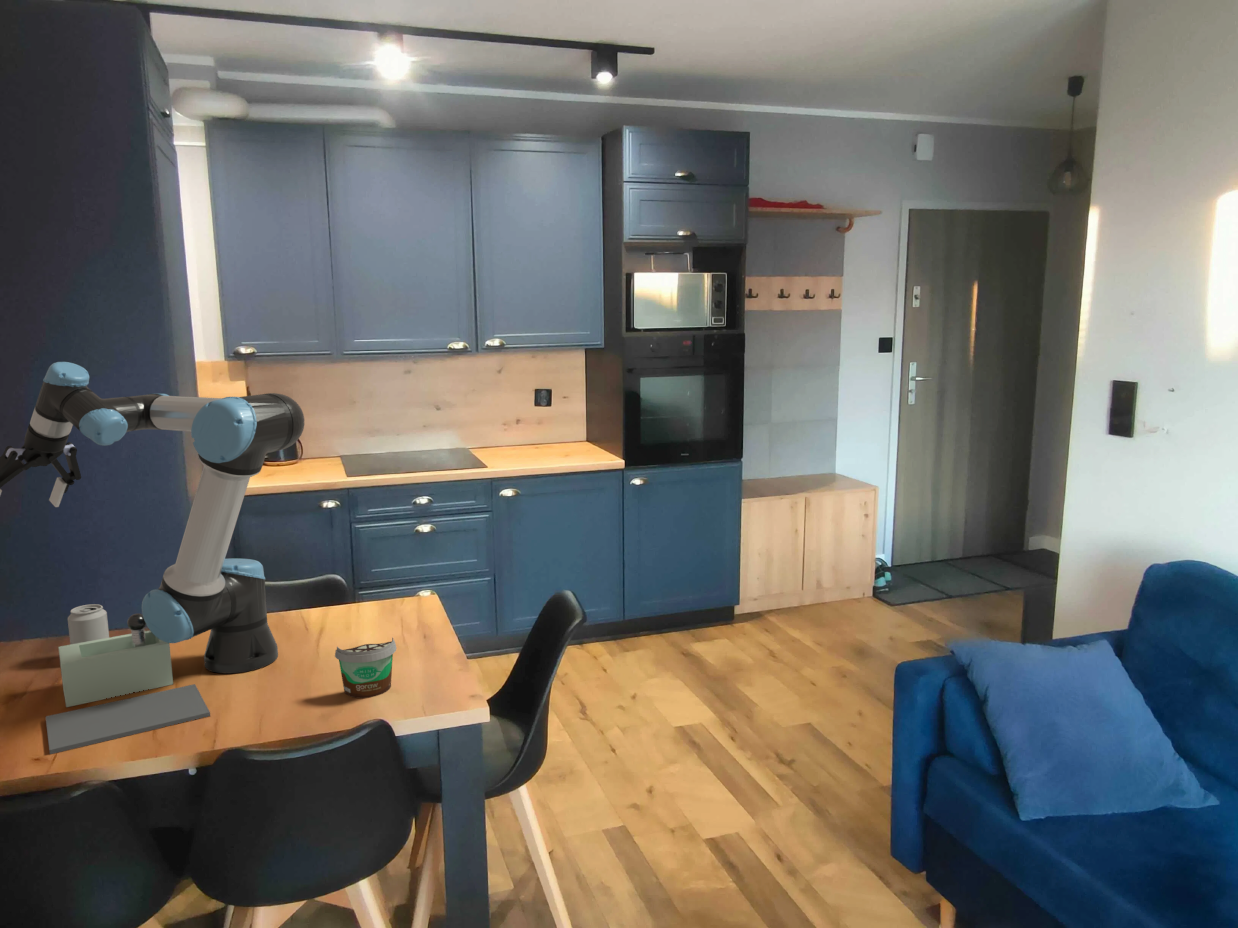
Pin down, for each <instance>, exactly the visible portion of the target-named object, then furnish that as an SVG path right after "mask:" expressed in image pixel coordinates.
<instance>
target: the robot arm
mask: <svg viewBox="0 0 1238 928" xmlns="http://www.w3.org/2000/svg"><path fill="white" fill-rule="evenodd" d="M42 381H43V382H42V385H41V388H40V390H39V394H38V397H37V400H36V402H35V405H34V409H33V412H32V415H31V418H30V421H29V424H28V426H27V429H26V432H25V436H24V442H23V445H22V446H21V447H20V448H13V446H11V445H7V446H6V447H5V449H4V451H3V453H2V454H1V456H0V496H1V495H2V492H3V490H2V489H1V488H2V487H3V486H5V485H6V484H7V483H9V482H10V481H12V480H13V479H14V478H15V477H17V476H18V475H19V474H21V473H22V472H24V471H28V470H30V468H37V467H47V466H49V465H52V466H53V468H55V470H56V471H57V472H58V474H59V475H60V476H58V477H56V479H55V482H54V484H53V488H52V491H51V493H50V497H49V499H48V501H49V502H50V504H52V505H53V507H55V508H59V507H60V504H61V502H62V499H63V497H64V496H63V495H64V494H66V493H67V492H68V489H69V487H70V486H73V485H74V484H75V480H77V481H80V480H81V478H82V475H81V469H80V467H79V463H78V460H77V459H78V458H77V452H78V449H77V448H76V446H74V444H73V443H72V442H70V441H68V439H69V437H70V433H71V432H72V428H73V426H74V427H75V428H76V429H77V430H78V431H80V433H81V434H82V435H83V436H85V437H87V439H90V440H91V441H92V442H94V443H95V444H97V445H99V446H111V445H113V444H114V443H115V442H119V441H120V440H121V439H122V438H123V437H124V436H125V435H126V433H128V432H134V431H141V430H163V431H164V430H165V431H166V430H167V431H177V432H190V434H191V439H194V441H193V442H192V444H193V447H194V449H195V451H196V453H197V458H198V460H199V462H200V463H201V464H202V466H203V468H202V471H201V475H200V478H199V481H198V485H197V489H196V491H195V494H194V498H193V501H192V505H191V509H190V513H189V515H188V519H187V522H186V526H185V529H184V533H183V536H182V539H181V543H180V547H179V549H178V553H177V556H176V561H175V563H174V564H172V565H170V566H168V567H167V568H166V569H165V570H164V572H163V575H162V579H161V581H160V582H161V583H160V586H159V587H158V588H156V589H154V588H153V589H152V590H150V591H149V592H148V593H146V594H145V596H144V597H143V598H142V602H141V614H142V615H143V618H144V621H145V622H146V627H147V628H148V629H149V630H150V631H151V632H152V633H153V634H154V635H155V636H156V637H157V638H158V639H160V640H162V641H164V642H167V643H169V644H177V643H180V642H184V641H189V640H191V639H192V638H195V637H197V636H199V635H201V634H203V633H206V632H208V631H210V633H209V637H208V640H207V644H206V648H205V651H204V655H203V661H204V668H206V670H208V671H210V672H214V673H217V674H237V673H239V674H240V673H244V672H250V671H255V670H258V669H262V668H264V667H267V666H269V665H270V664H272V663H273V662H275V661H276V660H277V659H278V657H279V652H278V651H279V650H278V649H279V647H278V644H277V642H276V639H275V637H274V635H273V633H272V630H271V628H270V626H269V624H268V610H267V595H266V594H267V593H266V577H265V572H264V571H265V570H264V566H263V564H262V563H261V562H260V561H258V560H255V559H250V558H239V557H238V558H235V557H234V558H231V557H230V558H226V556H227V553H228V550H229V547H230V543H231V540H232V537H233V534H234V530H235V527H236V525H237V521H238V518H239V514H240V511H241V509H242V504H243V501H244V498H245V495H246V492H247V488H248V486H249V482H250V479H251V478H252V477H254V476H256V475H258V474H259V473H261V471H262V467H263V464H264V462H265V459H266V455H267V454H268V453H273V452H278V451H283V450H285V449H287V448H289V447H291V446H293V445H294V444H296V443H297V441H298V440H299V439H300V438H301V436H302V434H303V432H304V429H305V415H304V412H303V410H302V408H301V406H300V405H299V404H298V403H297V402H296V400H295V399H293V398H291V397H290V396H288V395H286V394H283V393H282V394H281V393H275V392H271V393H269V392H268V393H262V394H255V395H244V396H226V397H219V398H218V397H204V396H203V397H202V396H201V397H200V396H179V395H176V396H175V395H169V394H167V393H147V394H143V395H142V394H141V395H134V396H133V395H132V396H131V395H130V396H120V397H109V398H101V397H100V396H98V395H97V393H95V392H94V391H93V390H92V389H91V388H89V386H88V385H89V383H90V382H89V381H90V375H89V371H88V370H86V368H84V366H81V365H79V364H76V363H73V362H68V361H57V362H53V363H52V364H51V365H50V366H49V367H48V369H47V371H46V373H45V376H44V377H43V379H42ZM63 454H64V455H65V456H64V457H65V458H66V463H67V467H68V469H69V472H67V470H66V469H65V468H64V467H63V466H62V464H61V463H60V462H59V460H58V458H59V457H60V456H62V455H63ZM23 460H24V461H25V463H24V462H23ZM149 630H148V631H149Z"/></svg>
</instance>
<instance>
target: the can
mask: <svg viewBox="0 0 1238 928" xmlns="http://www.w3.org/2000/svg"><path fill="white" fill-rule="evenodd" d="M69 612H70V614H69V615H68V616H67V624H68V625H67V626H68V636H69V645H71V644H77V643H82V642H88V641H93V640H99V639H104V638H110V632H109V631H110V630H109V622H108V612H107V610H105V609H104V607H103V605H101V604H98V603H97V604H95V603H94V604H85V605H84V604H83V605H79V606H76V607H74V608H72V609H71V610H70V611H69Z"/></svg>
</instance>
